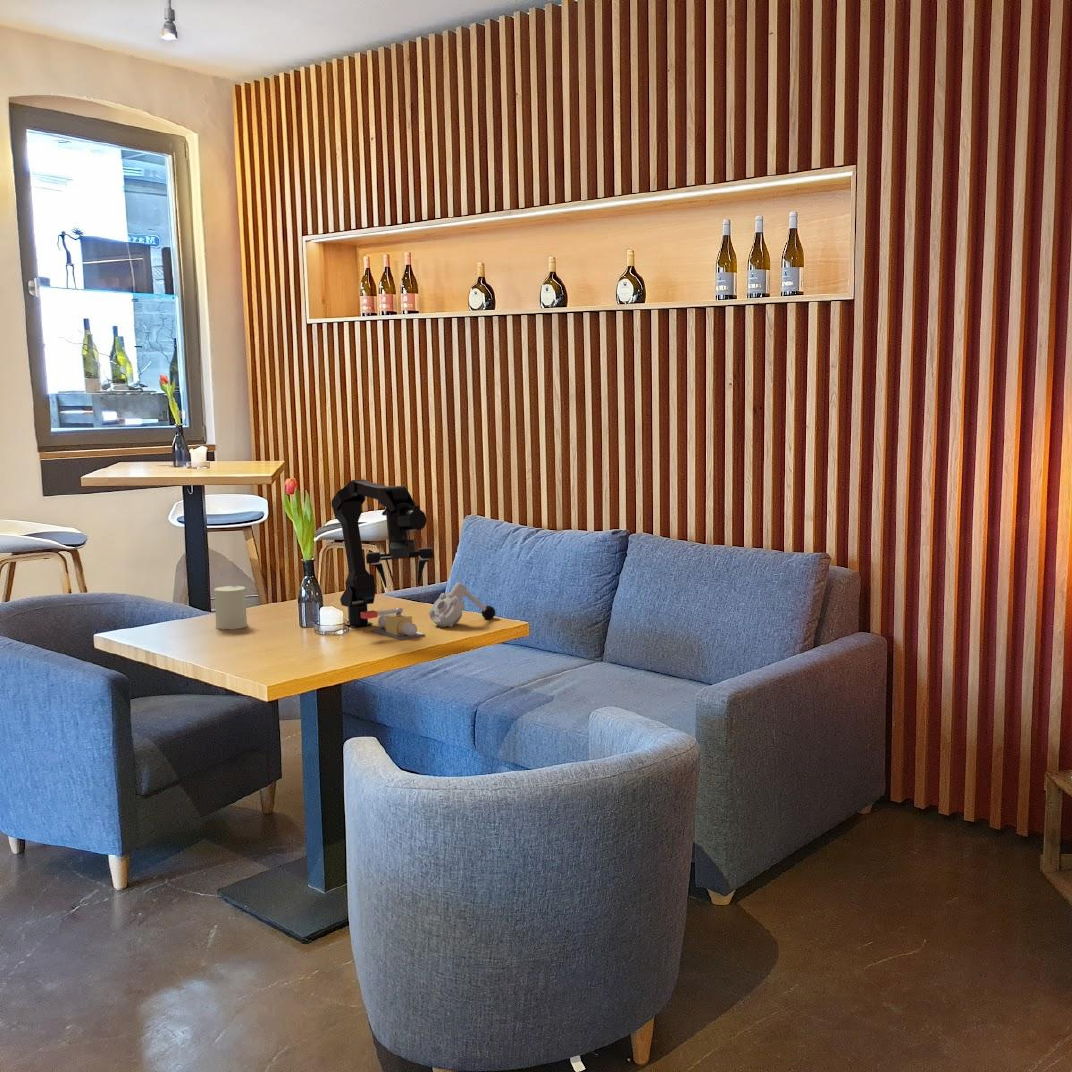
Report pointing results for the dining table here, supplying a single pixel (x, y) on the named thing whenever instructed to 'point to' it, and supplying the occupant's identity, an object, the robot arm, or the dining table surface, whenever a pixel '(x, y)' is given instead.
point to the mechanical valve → (455, 607)
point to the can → (230, 607)
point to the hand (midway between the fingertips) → (402, 586)
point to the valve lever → (379, 613)
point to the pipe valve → (397, 626)
